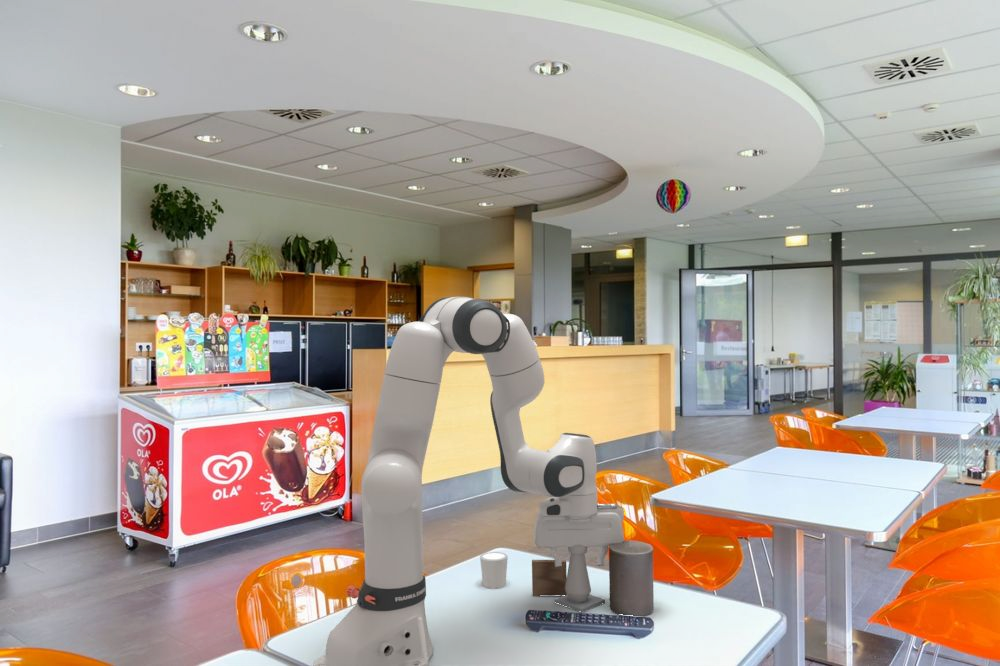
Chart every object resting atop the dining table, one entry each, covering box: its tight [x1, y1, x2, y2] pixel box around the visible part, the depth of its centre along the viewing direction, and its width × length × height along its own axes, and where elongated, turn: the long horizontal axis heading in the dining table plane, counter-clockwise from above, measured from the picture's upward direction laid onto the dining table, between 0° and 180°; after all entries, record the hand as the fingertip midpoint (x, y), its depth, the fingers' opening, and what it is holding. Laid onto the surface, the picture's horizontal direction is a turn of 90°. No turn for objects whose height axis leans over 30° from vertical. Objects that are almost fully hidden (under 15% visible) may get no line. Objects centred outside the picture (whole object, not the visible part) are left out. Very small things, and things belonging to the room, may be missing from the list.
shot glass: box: [479, 551, 509, 590], centre depth 167 cm, size 7×7×7 cm
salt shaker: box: [565, 545, 592, 603], centre depth 154 cm, size 6×6×13 cm
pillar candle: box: [608, 539, 655, 617], centre depth 150 cm, size 10×10×15 cm
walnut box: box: [531, 559, 567, 597], centre depth 159 cm, size 8×2×8 cm, turn 87°
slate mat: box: [554, 593, 606, 613], centre depth 154 cm, size 8×8×1 cm
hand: (579, 565), depth 154 cm, fingers open, 8 cm apart
